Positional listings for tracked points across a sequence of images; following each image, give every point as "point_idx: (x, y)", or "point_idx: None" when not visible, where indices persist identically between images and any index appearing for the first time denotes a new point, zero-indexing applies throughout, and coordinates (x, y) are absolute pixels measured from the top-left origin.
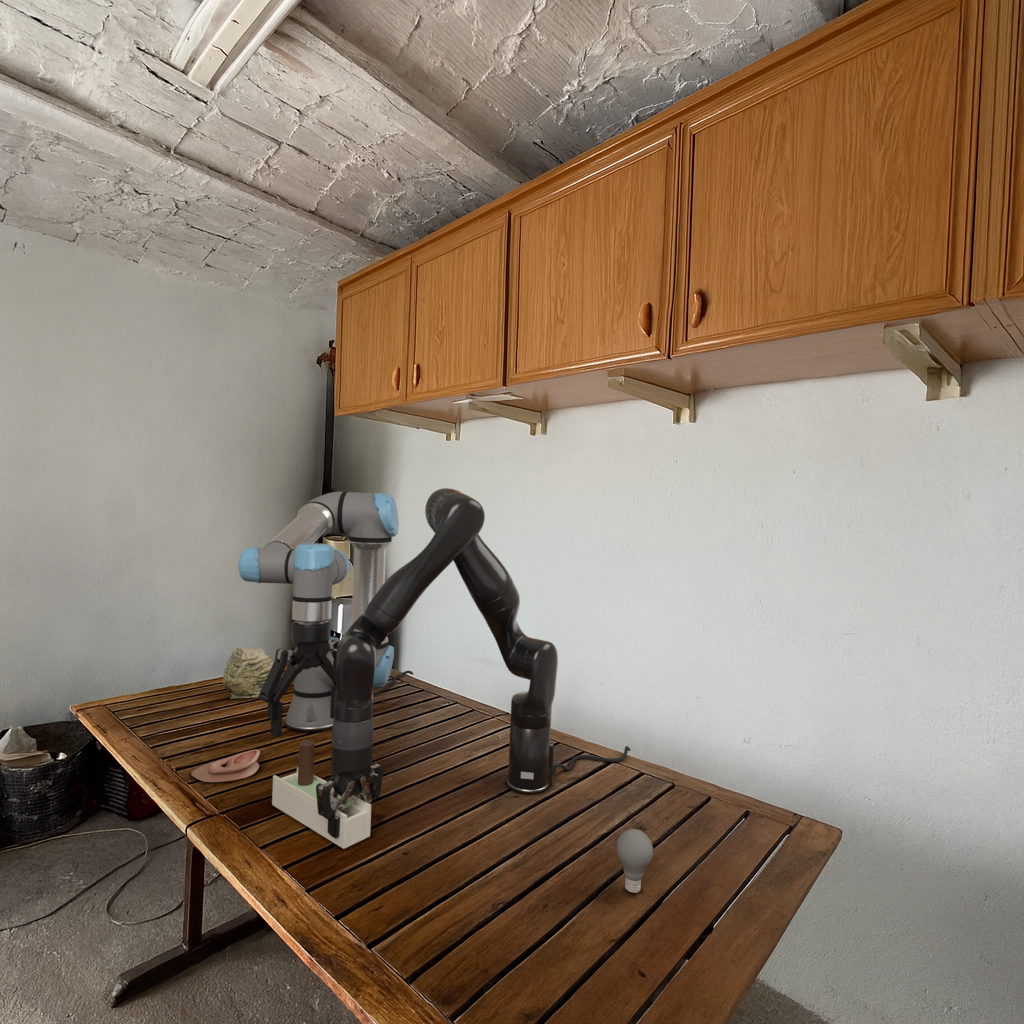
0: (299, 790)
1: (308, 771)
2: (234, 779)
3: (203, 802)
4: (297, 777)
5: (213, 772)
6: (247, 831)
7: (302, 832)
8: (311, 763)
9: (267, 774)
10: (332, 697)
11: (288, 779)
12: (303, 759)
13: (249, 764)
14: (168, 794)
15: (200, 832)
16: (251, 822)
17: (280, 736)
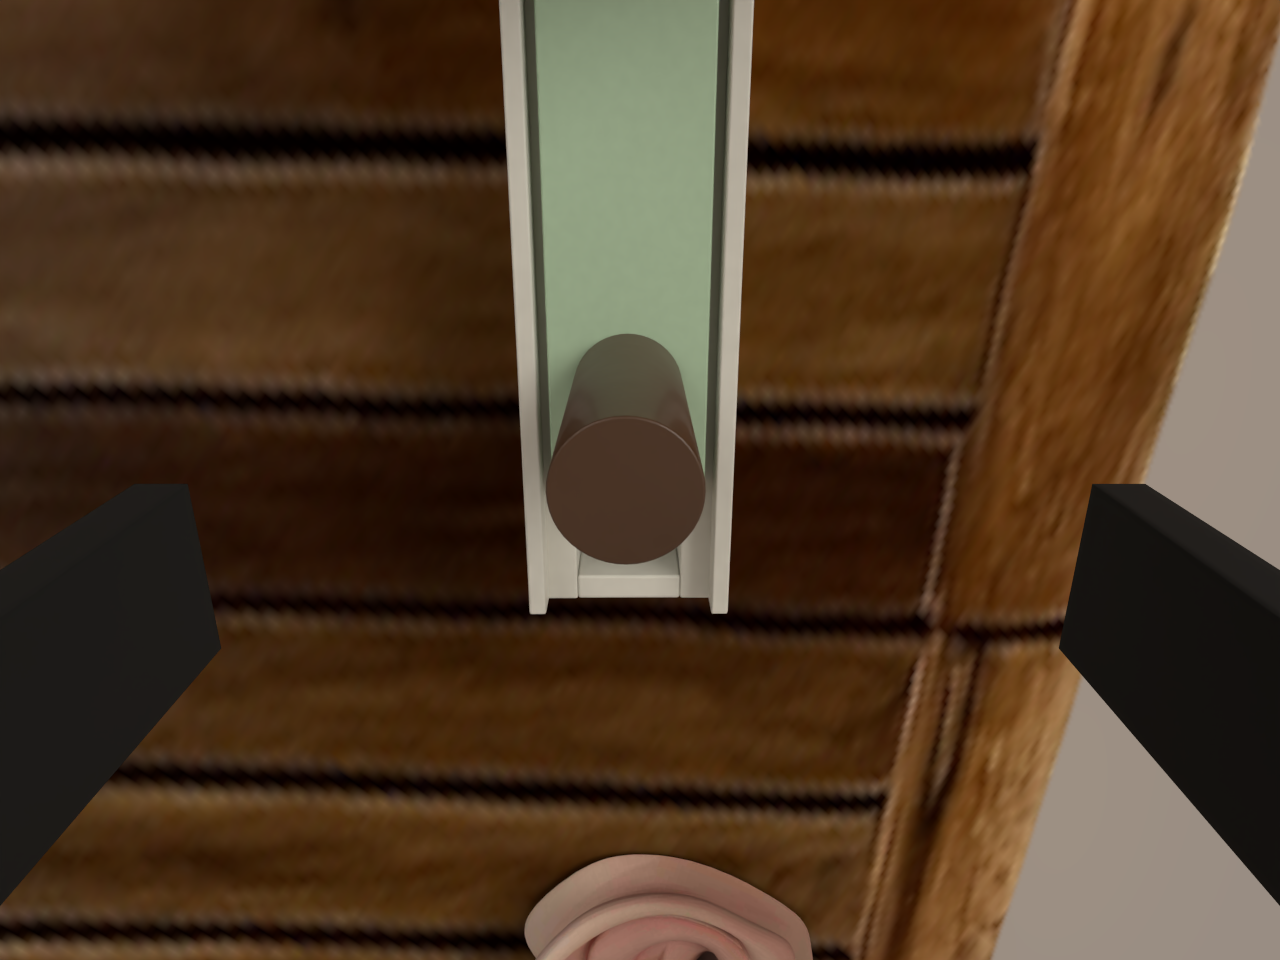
0: (739, 297)
1: (643, 357)
2: (696, 866)
3: (915, 768)
4: None
5: (787, 943)
6: (961, 373)
7: (779, 133)
8: (617, 369)
9: (539, 823)
10: (15, 834)
11: (626, 567)
12: (683, 411)
13: (625, 905)
14: (967, 921)
15: None
16: (891, 442)
17: (1115, 484)
